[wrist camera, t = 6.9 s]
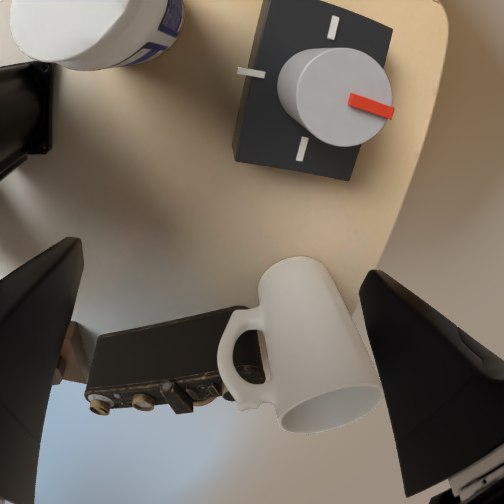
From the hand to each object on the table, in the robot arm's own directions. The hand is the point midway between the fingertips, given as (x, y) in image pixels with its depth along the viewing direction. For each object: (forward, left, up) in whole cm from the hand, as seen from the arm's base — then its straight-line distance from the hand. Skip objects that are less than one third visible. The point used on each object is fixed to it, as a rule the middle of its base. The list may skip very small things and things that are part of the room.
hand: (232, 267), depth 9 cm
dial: (-5, +4, -9) cm, 11 cm away
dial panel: (-5, +4, -12) cm, 14 cm away
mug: (+11, +6, -12) cm, 18 cm away
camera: (+19, -2, -12) cm, 23 cm away
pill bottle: (-8, -6, -12) cm, 16 cm away
